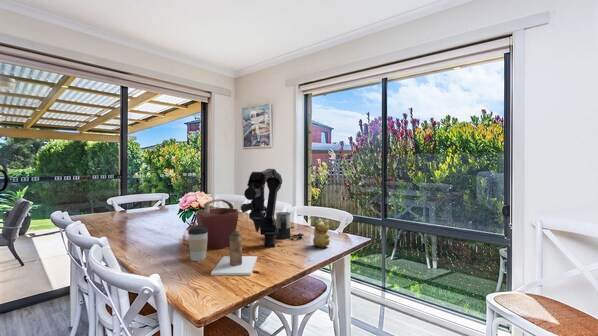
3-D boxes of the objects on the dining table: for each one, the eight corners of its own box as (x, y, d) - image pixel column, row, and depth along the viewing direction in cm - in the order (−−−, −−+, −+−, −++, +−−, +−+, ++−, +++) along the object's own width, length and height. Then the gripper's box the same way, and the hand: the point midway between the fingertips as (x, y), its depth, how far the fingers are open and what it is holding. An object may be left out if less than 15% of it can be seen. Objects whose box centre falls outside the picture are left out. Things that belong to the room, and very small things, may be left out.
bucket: (210, 254, 139) (210, 204, 139) (185, 246, 152) (185, 200, 152) (247, 243, 159) (247, 199, 158) (222, 236, 172) (222, 195, 171)
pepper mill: (237, 260, 128) (236, 229, 127) (244, 263, 124) (243, 230, 124) (227, 263, 124) (226, 231, 123) (234, 266, 120) (233, 233, 120)
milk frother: (273, 236, 174) (273, 212, 173) (297, 233, 180) (297, 210, 180) (281, 242, 161) (281, 216, 160) (306, 239, 167) (306, 214, 167)
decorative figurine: (332, 246, 153) (332, 219, 153) (325, 250, 146) (325, 221, 146) (316, 243, 158) (316, 217, 158) (309, 247, 151) (309, 219, 151)
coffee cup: (188, 256, 136) (188, 225, 136) (207, 254, 139) (207, 224, 139) (187, 262, 128) (187, 229, 127) (208, 260, 131) (208, 228, 131)
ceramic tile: (223, 258, 134) (223, 256, 134) (257, 258, 134) (257, 256, 134) (210, 275, 114) (210, 272, 114) (250, 275, 114) (250, 272, 114)
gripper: (245, 195, 146) (245, 224, 147) (237, 199, 128) (237, 234, 128) (266, 195, 147) (266, 224, 147) (262, 200, 128) (262, 234, 128)
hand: (258, 229), depth 138 cm, fingers open, 9 cm apart
